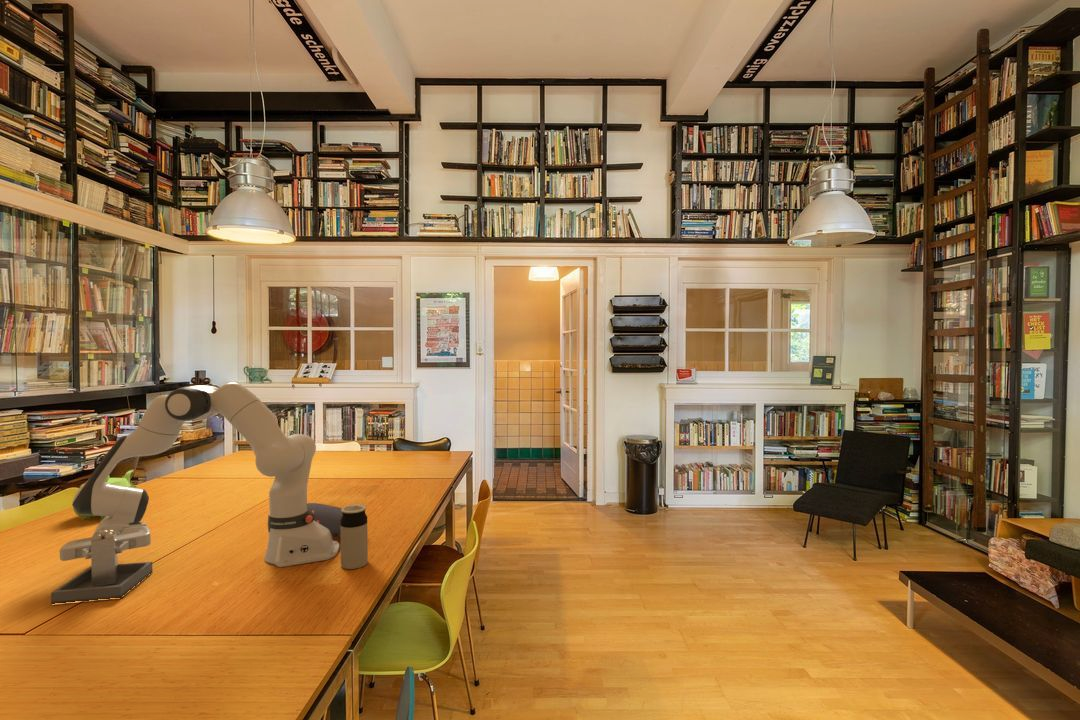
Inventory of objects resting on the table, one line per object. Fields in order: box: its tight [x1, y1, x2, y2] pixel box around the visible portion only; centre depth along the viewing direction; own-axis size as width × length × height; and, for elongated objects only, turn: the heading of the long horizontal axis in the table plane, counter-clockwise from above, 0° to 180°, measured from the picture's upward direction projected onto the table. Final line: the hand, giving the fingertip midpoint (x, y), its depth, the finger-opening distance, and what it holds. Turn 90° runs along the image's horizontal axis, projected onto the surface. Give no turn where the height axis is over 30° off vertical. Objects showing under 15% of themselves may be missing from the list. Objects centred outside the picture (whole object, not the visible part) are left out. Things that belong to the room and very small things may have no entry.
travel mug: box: [340, 504, 369, 570], centre depth 158 cm, size 8×8×18 cm
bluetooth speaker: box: [307, 502, 343, 537], centre depth 184 cm, size 23×9×10 cm, turn 62°
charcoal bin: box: [50, 561, 154, 605], centre depth 142 cm, size 16×16×4 cm
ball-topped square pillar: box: [90, 530, 119, 587], centre depth 142 cm, size 5×5×15 cm
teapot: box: [72, 469, 138, 520], centre depth 205 cm, size 25×22×16 cm
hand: (104, 553), depth 141 cm, fingers open, 5 cm apart
